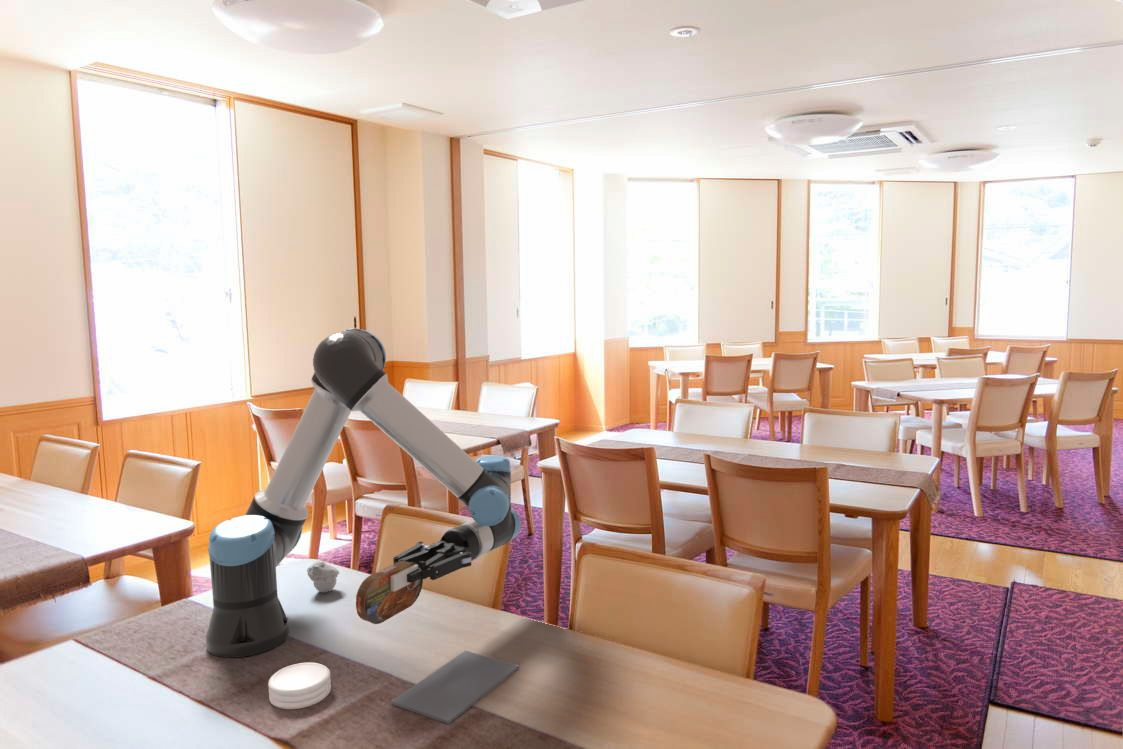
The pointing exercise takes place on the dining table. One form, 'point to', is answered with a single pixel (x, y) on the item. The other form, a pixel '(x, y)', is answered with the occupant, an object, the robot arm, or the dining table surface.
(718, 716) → the dining table surface
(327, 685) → the white round stack
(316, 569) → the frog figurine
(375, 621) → the tin
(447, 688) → the slate mat
